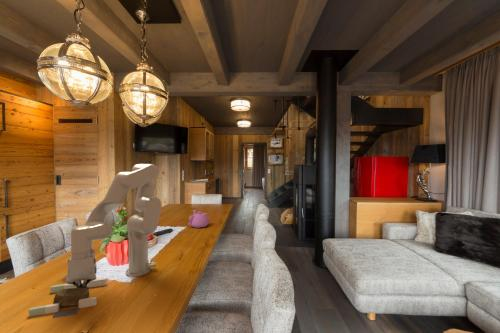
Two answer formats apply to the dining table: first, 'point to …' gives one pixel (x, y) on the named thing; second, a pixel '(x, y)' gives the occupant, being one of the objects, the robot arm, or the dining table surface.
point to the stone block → (71, 296)
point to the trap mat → (66, 313)
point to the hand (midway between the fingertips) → (82, 294)
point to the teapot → (199, 219)
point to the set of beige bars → (57, 288)
